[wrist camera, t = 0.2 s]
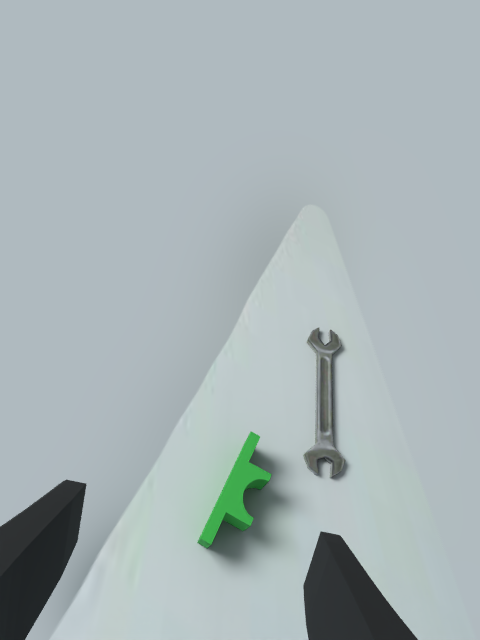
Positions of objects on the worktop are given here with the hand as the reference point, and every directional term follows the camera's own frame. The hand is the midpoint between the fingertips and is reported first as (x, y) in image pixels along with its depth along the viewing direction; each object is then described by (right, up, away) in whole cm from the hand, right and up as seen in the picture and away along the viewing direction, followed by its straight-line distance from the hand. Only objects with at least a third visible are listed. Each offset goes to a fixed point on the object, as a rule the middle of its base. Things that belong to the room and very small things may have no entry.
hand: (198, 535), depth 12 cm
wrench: (+12, -4, +39) cm, 41 cm away
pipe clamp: (+1, -13, +31) cm, 33 cm away
